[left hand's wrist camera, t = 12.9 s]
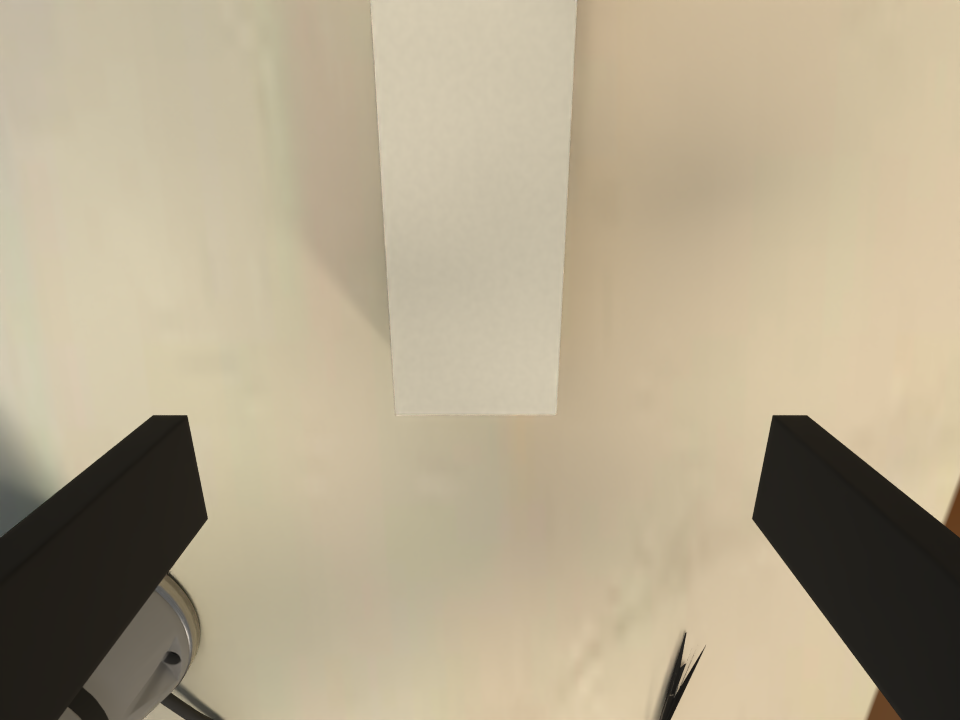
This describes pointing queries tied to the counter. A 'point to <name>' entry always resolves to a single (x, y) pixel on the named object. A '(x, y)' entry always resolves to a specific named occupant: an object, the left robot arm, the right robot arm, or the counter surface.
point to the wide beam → (474, 198)
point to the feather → (676, 686)
